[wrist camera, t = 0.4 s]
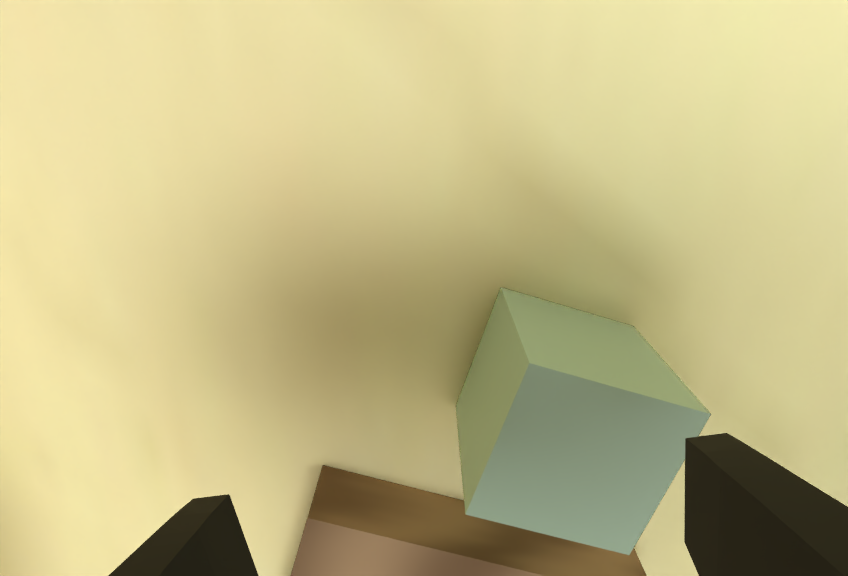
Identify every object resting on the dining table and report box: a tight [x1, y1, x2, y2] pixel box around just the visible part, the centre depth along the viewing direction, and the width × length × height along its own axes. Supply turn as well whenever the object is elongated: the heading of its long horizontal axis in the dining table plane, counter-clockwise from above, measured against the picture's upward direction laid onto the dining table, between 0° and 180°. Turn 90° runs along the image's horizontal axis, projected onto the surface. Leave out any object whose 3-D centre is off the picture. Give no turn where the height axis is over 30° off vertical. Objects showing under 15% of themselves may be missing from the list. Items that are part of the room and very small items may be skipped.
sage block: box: [456, 287, 711, 555], centre depth 15 cm, size 4×4×5 cm
